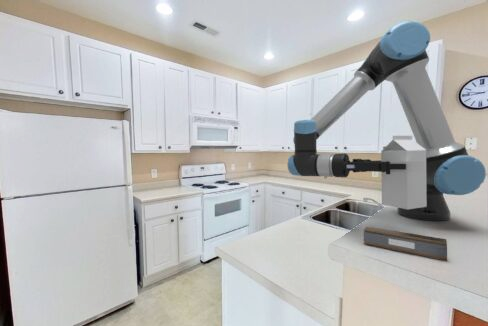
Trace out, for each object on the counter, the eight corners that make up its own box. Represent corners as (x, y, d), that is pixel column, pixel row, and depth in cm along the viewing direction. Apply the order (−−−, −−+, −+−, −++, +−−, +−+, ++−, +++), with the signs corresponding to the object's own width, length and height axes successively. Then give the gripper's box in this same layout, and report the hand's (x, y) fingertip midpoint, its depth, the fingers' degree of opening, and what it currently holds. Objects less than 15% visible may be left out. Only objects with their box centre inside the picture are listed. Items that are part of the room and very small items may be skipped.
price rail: (366, 241, 59) (366, 226, 59) (446, 256, 49) (446, 239, 49) (363, 244, 57) (363, 229, 57) (447, 262, 46) (447, 243, 46)
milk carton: (426, 207, 57) (426, 134, 56) (407, 210, 54) (406, 134, 54) (399, 202, 63) (399, 137, 63) (381, 204, 61) (380, 137, 61)
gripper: (344, 174, 79) (424, 176, 64) (321, 180, 62) (423, 185, 47) (344, 153, 79) (424, 150, 64) (321, 154, 62) (423, 150, 47)
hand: (424, 165), depth 56 cm, fingers closed on milk carton, 10 cm apart
